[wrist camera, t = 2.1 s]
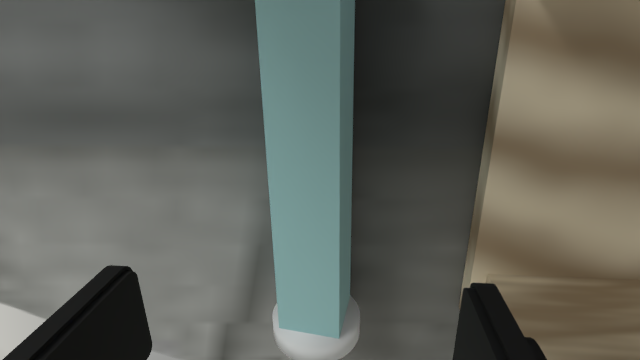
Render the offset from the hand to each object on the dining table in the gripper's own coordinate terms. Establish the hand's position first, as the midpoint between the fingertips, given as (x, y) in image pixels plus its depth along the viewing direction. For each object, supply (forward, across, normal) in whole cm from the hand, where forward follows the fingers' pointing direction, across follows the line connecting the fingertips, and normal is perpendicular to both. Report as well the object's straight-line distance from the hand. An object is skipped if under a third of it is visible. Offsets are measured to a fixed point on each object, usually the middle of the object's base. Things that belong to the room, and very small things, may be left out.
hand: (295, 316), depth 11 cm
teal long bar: (+15, 0, -1) cm, 15 cm away
